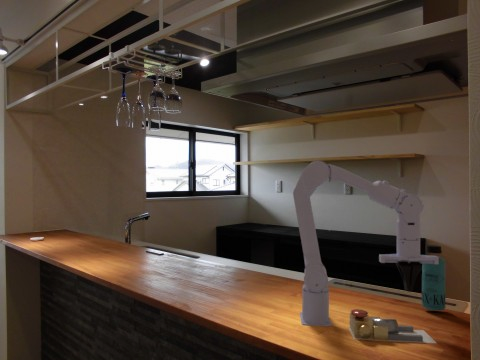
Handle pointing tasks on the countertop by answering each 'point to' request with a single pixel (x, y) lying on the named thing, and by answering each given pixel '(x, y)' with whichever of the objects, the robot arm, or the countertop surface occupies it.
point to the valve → (366, 326)
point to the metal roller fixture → (405, 335)
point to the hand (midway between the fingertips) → (408, 290)
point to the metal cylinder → (387, 324)
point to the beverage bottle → (433, 282)
